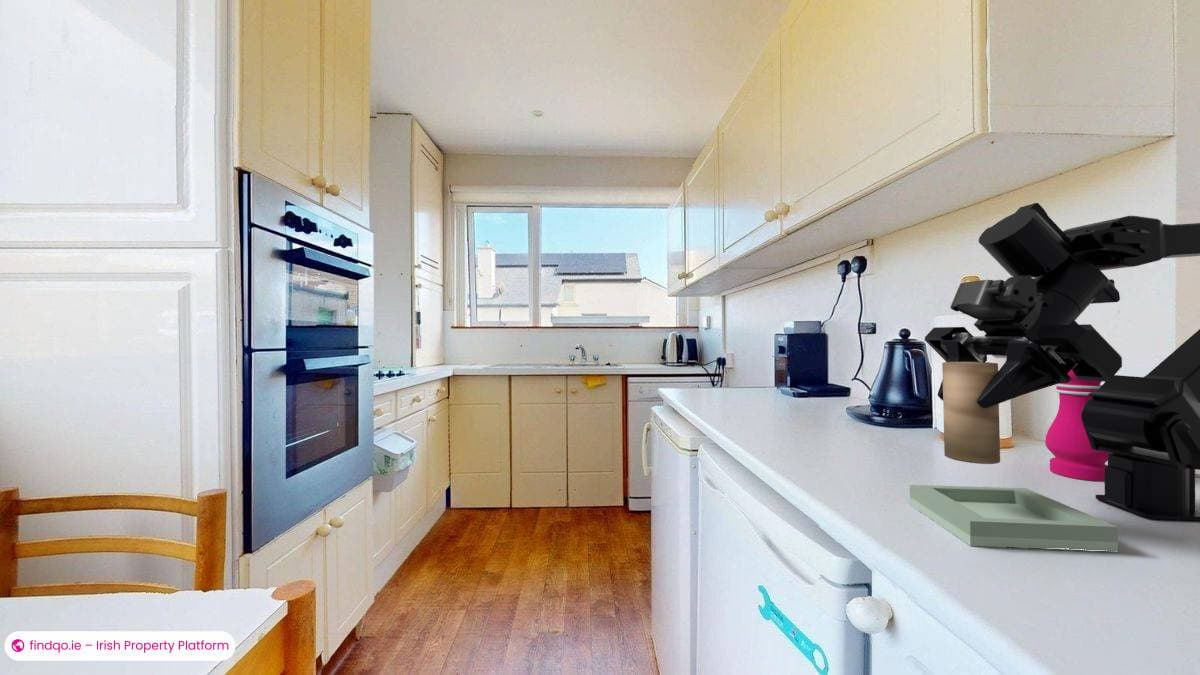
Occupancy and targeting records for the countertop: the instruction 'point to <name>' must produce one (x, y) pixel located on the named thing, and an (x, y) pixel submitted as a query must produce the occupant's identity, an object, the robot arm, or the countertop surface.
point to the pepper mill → (1074, 434)
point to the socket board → (1011, 518)
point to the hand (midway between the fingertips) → (959, 401)
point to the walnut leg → (969, 413)
